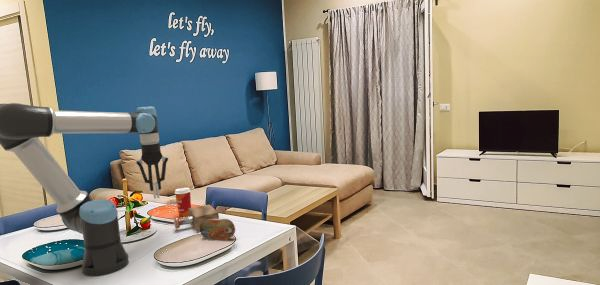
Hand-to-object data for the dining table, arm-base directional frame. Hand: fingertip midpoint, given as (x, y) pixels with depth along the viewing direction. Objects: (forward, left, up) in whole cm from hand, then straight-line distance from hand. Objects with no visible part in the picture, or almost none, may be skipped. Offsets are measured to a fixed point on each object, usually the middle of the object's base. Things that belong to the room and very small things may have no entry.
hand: (156, 197), depth 176 cm
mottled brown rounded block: (-21, -20, -17) cm, 33 cm away
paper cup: (+19, -14, -17) cm, 29 cm away
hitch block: (0, -19, -16) cm, 25 cm away
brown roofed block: (0, -13, -15) cm, 20 cm away
